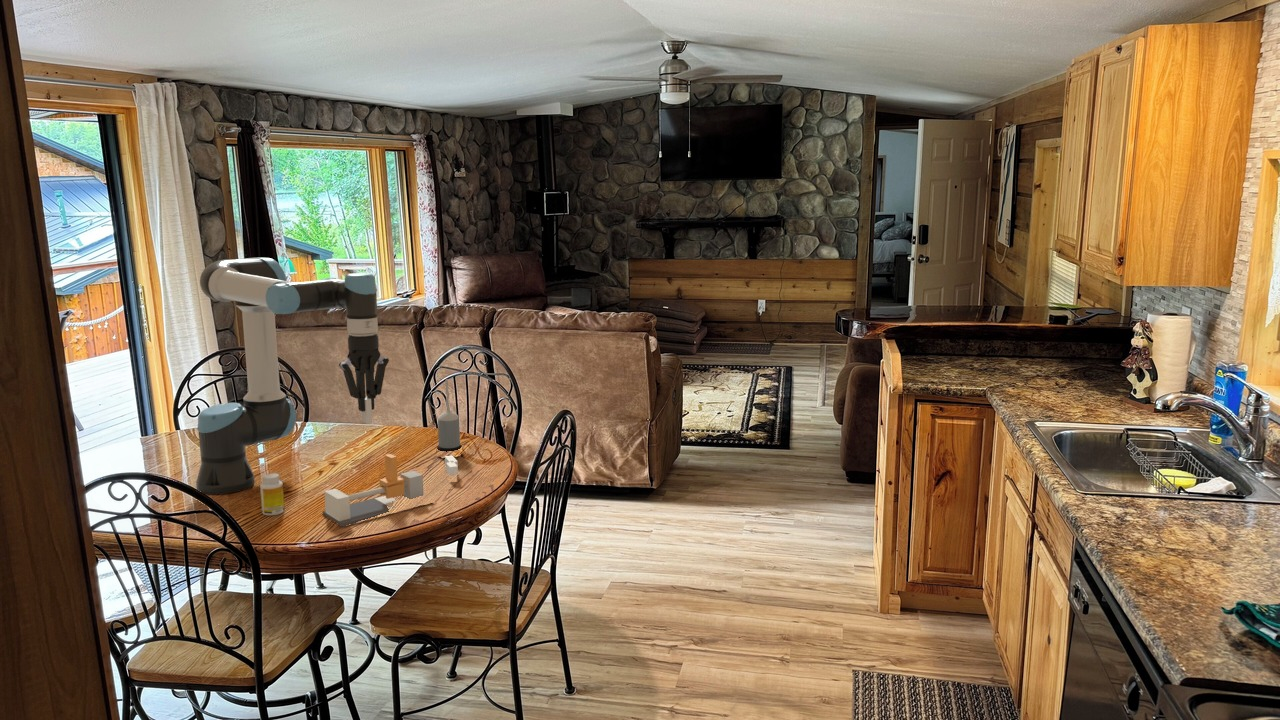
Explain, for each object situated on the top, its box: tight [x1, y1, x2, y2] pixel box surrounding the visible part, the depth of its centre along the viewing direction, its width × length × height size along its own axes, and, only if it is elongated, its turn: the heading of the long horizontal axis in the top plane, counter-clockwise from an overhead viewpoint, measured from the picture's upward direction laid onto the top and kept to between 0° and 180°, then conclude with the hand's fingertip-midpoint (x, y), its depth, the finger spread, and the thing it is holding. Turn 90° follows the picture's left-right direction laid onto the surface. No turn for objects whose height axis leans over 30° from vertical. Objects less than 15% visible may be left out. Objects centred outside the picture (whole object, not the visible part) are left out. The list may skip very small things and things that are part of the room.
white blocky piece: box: [444, 455, 459, 476], centre depth 260 cm, size 15×11×6 cm
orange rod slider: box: [379, 453, 404, 499], centre depth 235 cm, size 5×4×11 cm
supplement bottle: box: [259, 472, 286, 517], centre depth 229 cm, size 6×6×10 cm
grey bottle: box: [436, 379, 463, 452], centre depth 280 cm, size 8×8×25 cm
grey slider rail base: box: [322, 470, 425, 528], centre depth 233 cm, size 26×12×8 cm, turn 134°
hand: (367, 422), depth 228 cm, fingers closed
